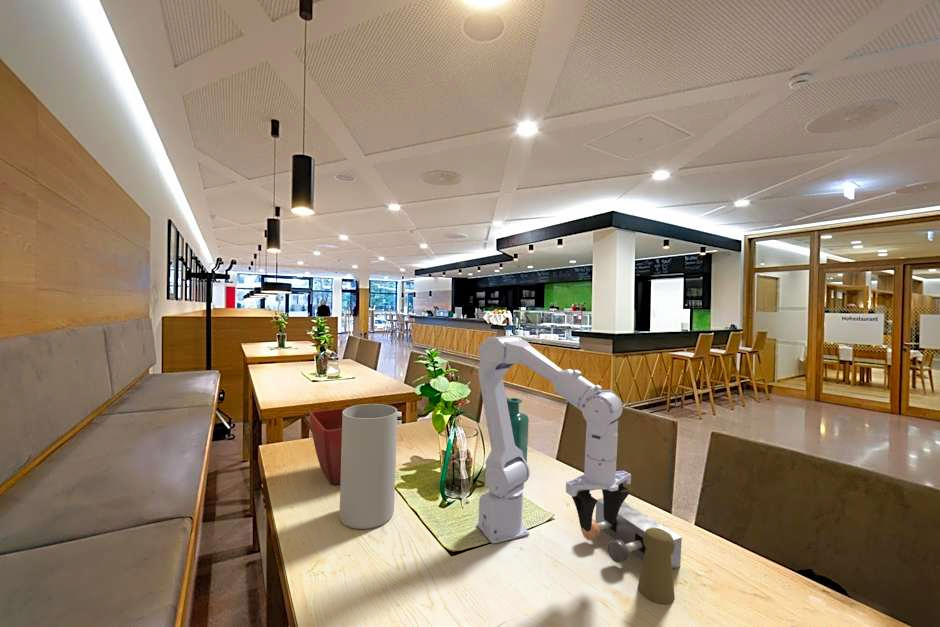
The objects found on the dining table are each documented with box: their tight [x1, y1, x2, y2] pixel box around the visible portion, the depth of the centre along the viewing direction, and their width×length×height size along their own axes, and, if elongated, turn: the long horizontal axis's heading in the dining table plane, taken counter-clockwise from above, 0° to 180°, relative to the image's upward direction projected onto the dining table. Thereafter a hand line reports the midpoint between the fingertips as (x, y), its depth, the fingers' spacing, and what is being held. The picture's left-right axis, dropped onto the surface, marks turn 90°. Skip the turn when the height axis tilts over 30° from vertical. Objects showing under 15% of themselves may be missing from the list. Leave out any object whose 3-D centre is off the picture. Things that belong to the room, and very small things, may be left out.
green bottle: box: [506, 396, 530, 464], centre depth 122 cm, size 10×8×22 cm
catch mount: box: [594, 497, 683, 571], centre depth 85 cm, size 6×18×6 cm, turn 25°
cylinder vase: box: [339, 403, 398, 530], centre depth 92 cm, size 12×12×25 cm
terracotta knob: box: [580, 518, 613, 541], centre depth 86 cm, size 7×4×4 cm, turn 115°
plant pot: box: [309, 407, 347, 486], centre depth 114 cm, size 19×19×17 cm
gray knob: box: [606, 539, 642, 564], centre depth 78 cm, size 7×4×4 cm, turn 115°
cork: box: [637, 528, 676, 605], centre depth 71 cm, size 6×6×11 cm
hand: (597, 525), depth 75 cm, fingers open, 5 cm apart
